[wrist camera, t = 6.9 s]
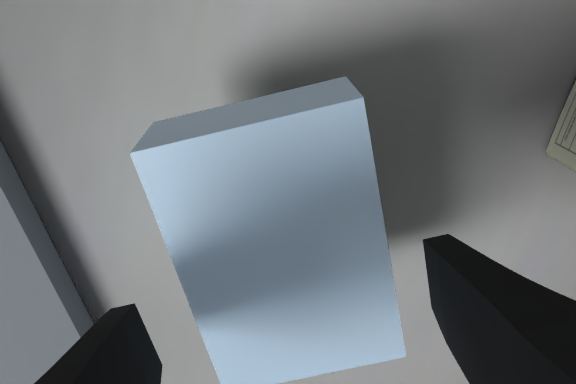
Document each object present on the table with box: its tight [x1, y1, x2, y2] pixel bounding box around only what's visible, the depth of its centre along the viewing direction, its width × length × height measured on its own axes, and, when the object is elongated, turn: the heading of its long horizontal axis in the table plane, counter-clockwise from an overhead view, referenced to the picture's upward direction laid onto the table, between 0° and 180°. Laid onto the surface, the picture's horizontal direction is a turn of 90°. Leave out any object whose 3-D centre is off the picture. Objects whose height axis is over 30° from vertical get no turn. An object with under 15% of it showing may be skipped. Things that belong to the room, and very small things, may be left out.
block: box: [130, 76, 406, 384], centre depth 14 cm, size 8×6×3 cm
